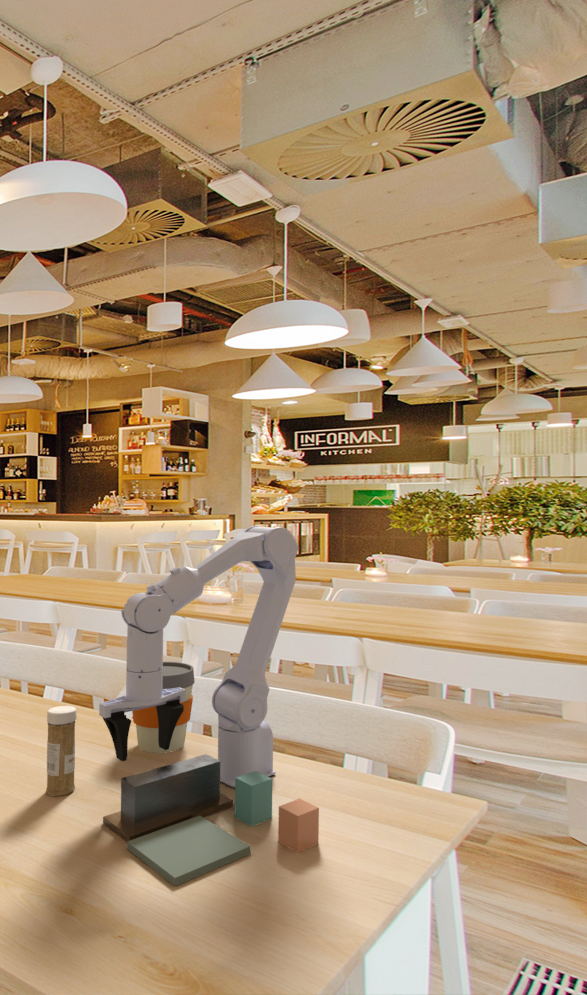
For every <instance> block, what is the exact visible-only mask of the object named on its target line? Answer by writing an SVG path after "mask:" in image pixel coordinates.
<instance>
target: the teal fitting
mask: <svg viewBox="0 0 587 995" xmlns="http://www.w3.org/2000/svg"><path fill="white" fill-rule="evenodd" d="M234 818H235V819H237V820H239V821H241V822H242V823H244V824H246V825H247V826H249V827H251V828H252V827H253V826H256V825H259V824H262V823H264V822H266V821H270V820H272V819H273V778H272V777H271V776H266V775H263V774H261V773H259V772H257V771H254V772H251V773H248V774H245V775H242V776H239V777H236V778H235V788H234Z"/></svg>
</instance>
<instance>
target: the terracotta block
mask: <svg viewBox="0 0 587 995" xmlns="http://www.w3.org/2000/svg"><path fill="white" fill-rule="evenodd" d="M319 818H320V808H319V807H318V806H316V805H314V804H312V803H310V802H307V801H305V800H304V799H301V798H299V797H298V798H297V799H294V800H292V801H289V802H287V803H284V804H281V805H279V806H278V831H277V832H278V836H277V838H278V839H277V840H278V841H277V842H278V843H280V844H281V845H283V846H284V847H286V848H288V849H290V850H291V851H294V852H295V853H297V854H298V853H300V852H302V851H304V850H307V849H309V848H311V847H314V846H315V845H316V846H317V845H319V833H320V832H319V829H320V828H319V826H320V824H319V821H320V820H319Z"/></svg>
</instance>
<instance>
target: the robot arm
mask: <svg viewBox="0 0 587 995" xmlns="http://www.w3.org/2000/svg"><path fill="white" fill-rule="evenodd" d="M298 551H299V546H298V544H297V541H296V539H295V537H294V536H293V533H292V532H291V531H290V530H289V529H287V528H285V527H282V526H281V527H280V526H279V527H269V526H267V527H265V526H259V525H251V526H249V527H247V528H245V530H244V531H241V532H239V533H236V535H234V536H233V538H231V539H230V540H229V541H227V542H226V543H225V544H224V545H223V546H221V547H220V548H218V549H216V550H215V551H214V552H212V553H211V554H210V555H209V556H208V557H206V558H205V559H203V560H201V561H200V563H198V564H197V565H195V566H194V567H189V566H185V565H183V566H182V567H177V566H175V567H173V568H172V569H171V570H170V571H169V573H170V574H169V575H168V576H166V577H165V578H163V579H161V580H160V581H158V582H157V583H156V584H153V583H152V584H149V585H148V586H146V592H138V593H134V594H133V595H131V596H130V597H129V598H128V599H127V600H126V603H125V604H124V607H123V609H122V610H121V611H120V612H121V617H122V618H121V619H123V621H124V623H125V624H126V625H127V628H126V629H127V630H126V633H127V634H126V637H127V638H126V674H125V675H126V677H125V678H126V679H125V681H126V682H125V683H126V684H125V694H124V695H121V696H119V697H116V698H113V699H110V700H107V701H103V702H99V705H98V706H99V707H98V708H99V709H98V710H99V711H98V714H99V715H98V716H100V717H101V718H102V720H103V721H104V723H105V726H106V727H107V730H108V732H109V734H110V736H111V739H112V742H113V743H112V744H113V747H114V751H115V755H116V756H115V757H116V759H117V760H119V761H120V762H126V761H127V760H128V751H129V750H128V742H129V741H128V740H129V732H130V728H131V725H132V720H131V719H130V718H127V714H126V713H129V712H132V711H135V710H139V709H144V708H149V707H153V706H156V709H157V715H158V726H159V728H158V742H159V747H160V748H162V749H164V750H168V749H169V746H170V742H171V738H172V735H173V732H174V729H175V726H176V724H177V722H178V720H179V718H180V716H181V714H182V713H183V711H184V705H182V704H180V702H183V701H186V690H185V689H182V688H180V687H178V688H172V689H162V682H163V662H164V658H163V657H164V629H165V628H166V626H167V625H168V624H169V623H170V619H171V616H173V615H174V614H176V613H177V612H179V611H180V610H181V609H184V607H185V606H187V605H189V604H190V603H191V602H193V601H194V600H196V599H198V598H199V597H200V596H201V595H202V594H203V592H204V588H205V585H206V584H207V583H209V582H210V581H212V580H214V579H215V578H216V577H218V576H220V575H221V574H223V573H226V571H228V570H230V569H231V568H233V567H235V566H236V565H238V564H239V563H241V562H242V563H243V562H250V563H251V564H252V565H253V566H254V568H256V569H257V571H258V572H259V574H260V576H261V579H262V581H263V584H262V586H261V589H260V593H259V596H258V598H257V600H256V604H255V605H254V606H255V607H254V609H253V613H252V616H251V618H250V621H249V624H248V628H247V630H246V633H245V636H244V639H243V642H242V645H241V647H240V651H239V654H238V657H237V660H236V663H235V665H233V666H232V667H231V668H230V669H227V671H226V672H225V673H224V676H223V678H222V681H221V682H220V683H219V685H217V687H216V688H215V689H214V691H213V693H212V694H213V695H212V698H211V706H212V708H213V710H214V711H215V713H216V714H217V718H218V719H217V722H218V726H217V727H218V729H217V731H218V732H217V760H219V761H220V783H223V784H225V785H227V786H229V787H230V788H234V789H235V778H236V777H239V776H242V775H245V774H248V773H251V772H254V771H257V772H259V773H261V774H263V775H266V776H268V777H271V776H273V775H276V770H274V769H273V768H274V734H273V731H272V728H271V726H270V724H269V723H268V722H267V721H265V720H266V719H265V718H266V717H267V714H268V696H269V693H270V686H269V683H268V681H267V678H266V672H267V668H268V666H269V663H270V659H271V658H272V657H271V656H272V654H273V650H274V648H275V644H276V641H277V639H278V635H279V632H280V629H281V627H282V623H283V620H284V617H285V614H286V611H287V608H288V604H289V602H290V600H291V599H290V598H291V596H292V593H293V590H294V586H295V584H296V578H297V577H296V556H297V554H298Z"/></svg>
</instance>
